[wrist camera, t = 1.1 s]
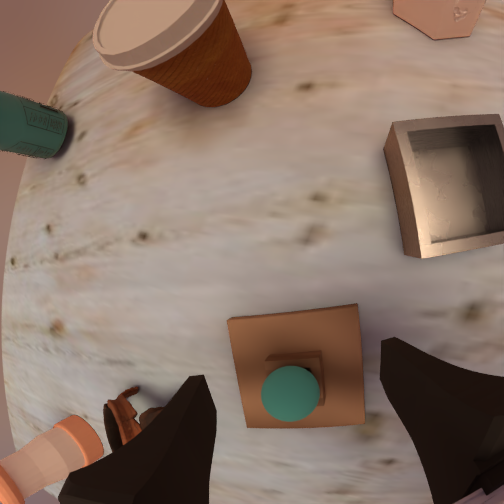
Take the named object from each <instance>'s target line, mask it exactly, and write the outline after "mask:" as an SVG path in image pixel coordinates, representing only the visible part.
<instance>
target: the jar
mask: <svg viewBox="0 0 504 504" xmlns="http://www.w3.org/2000/svg"><path fill="white" fill-rule="evenodd" d="M485 1H486V0H393V13H394V14H395V15H396V16H398V17H400V18H401V19H403V20H405V21H406V22H408V23H409V24H411V25H413V26H414V27H416V28H417V29H419V30H420V31H422V32H423V33H425V34H426V35H428V36H429V37H431V38H432V39H434V40H436V39H444V38H454V37H466V36H470V35H471V33H472V31H473V28H474V26H475V24H476V22H477V20H478V17H479V15H480V13H481V11H482V8H483V6H484V4H485Z"/></svg>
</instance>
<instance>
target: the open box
mask: <svg viewBox="0 0 504 504" xmlns="http://www.w3.org/2000/svg"><path fill="white" fill-rule="evenodd" d="M383 150H384V153H385V157H386V161H387V165H388V170H389V174H390V178H391V183H392V187H393V192H394V197H395V202H396V207H397V213H398V218H399V224H400V230H401V236H402V243H403V250H404V255H407V256H412V257H416V258H421V259H423V258H429V257H434V256H440V255H445V254H451V253H456V252H462V251H467V250H472V249H477V248H483V247H488V246H493V245H498V244H503V243H504V127H503V124H502V121H501V118H500V115H499V114H485V115H463V116H448V117H436V118H425V119H415V120H406V121H398V122H392V125H391V128H390V131H389V134H388V137H387V140H386V143H385V146H384V149H383Z"/></svg>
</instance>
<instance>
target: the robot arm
mask: <svg viewBox="0 0 504 504" xmlns="http://www.w3.org/2000/svg"><path fill="white" fill-rule="evenodd" d="M380 380H381V383H382V385H383V388H384V390H385V393H386V395H387V397H388V399H389V401H390V403H391V404H392V406H393V408H394V409H395V411H396V413H397V414H398V416H399V418H400V419H401V421H402V423H403V424H404V426H405V428H406V429H407V431H408V433H409V435H410V437H411V439H412V441H413V443H414V445H415V447H416V450H417V452H418V455H419V457H420V460H421V463H422V466H423V468H424V471H425V474H426V477H427V480H428V484H429V487H430V490H431V494H432V498H433V502H434V504H504V377H501V376H493V375H488V374H483V373H478V372H474V371H470V370H467V369H464V368H460V367H457V366H455V365H452V364H450V363H447V362H445V361H442V360H440V359H438V358H436V357H433V356H431V355H429V354H427V353H425V352H423V351H421V350H419V349H417V348H415V347H414V346H412V345H410V344H408V343H406V342H404V341H402V340H400V339H398V338H396V337H392V338H389V339H385V340H382V341H381V366H380ZM216 425H217V410H216V408H215V405H214V402H213V399H212V397H211V394H210V391H209V388H208V385H207V382H206V379H205V377H204V375H197V376H189V377H188V379H187V380H186V381H185V382H184V384H183V385H182V386H181V388H180V389H179V390H178V391H177V393H176V394H175V395H174V397H173V398H172V399H171V400H170V401H169V403H168V404H167V405H166V406H165V408H164V409H163V410H162V411H161V412H160V413H159V414H158V415H157V416H156V417H155V418H154V420H153V421H152V422H151V423H150V424H149V425H148V426H147V427H145V428H144V429H143V430H142V431H141V432H140V433H139V434H138V435H136V436H135V437H134V438H133V439H131V440H130V441H129V442H127V443H126V444H124V445H123V446H122V447H120V448H119V449H117V450H116V451H114V452H113V453H111V454H109V455H108V456H106V457H104V458H102V459H100V460H98V461H96V462H94V463H92V464H90V465H88V466H85V467H83V468H80V469H78V470H75V471H73V472H70V473H69V475H68V477H67V479H66V481H65V483H64V485H63V487H62V490H61V492H60V494H59V496H58V500H59V502H60V504H209V479H210V471H211V464H212V457H213V451H214V444H215V437H216Z"/></svg>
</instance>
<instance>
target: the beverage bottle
mask: <svg viewBox="0 0 504 504" xmlns="http://www.w3.org/2000/svg"><path fill="white" fill-rule="evenodd" d="M46 105H47V104H46ZM67 126H68V121H67V117H66V115H65V114H64V113H63V111H62V110H61V111H60V110H59V109H58V110H57V109H54V108H51V107H50V106H45V105H42V104H40V103H36V102H34V101H31V100H28V99H25V98H22V97H19V96H15V95H12V94H9V93H6V92H4V91H3V92H1V91H0V150H2V151H9V152H15V153H20V154H25V155H29V156H28V157H30V156H35V157H38V158H39V157H40V158H45V159H46V158H50V157H52V156H54V155H55V154H56V153H57V151H58V150H59V149H60V147H61V145H62V143H63V141H64V139H65V136H66V132H67ZM20 154H19V155H20ZM35 157H33V158H35Z"/></svg>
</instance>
